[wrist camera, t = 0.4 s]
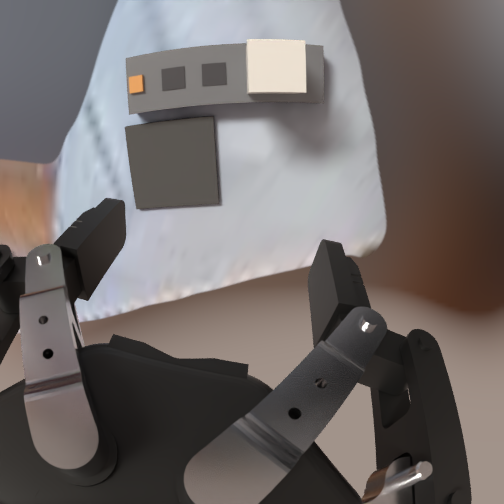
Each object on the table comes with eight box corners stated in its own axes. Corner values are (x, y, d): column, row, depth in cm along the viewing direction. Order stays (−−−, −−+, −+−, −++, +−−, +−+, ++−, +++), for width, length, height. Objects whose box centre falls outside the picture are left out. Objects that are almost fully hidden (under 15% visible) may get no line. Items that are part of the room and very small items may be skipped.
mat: (126, 126, 33) (124, 127, 32) (213, 116, 33) (213, 116, 32) (137, 207, 38) (136, 209, 37) (218, 201, 38) (218, 203, 38)
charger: (245, 54, 29) (247, 39, 21) (289, 54, 29) (305, 40, 21) (247, 94, 31) (248, 92, 23) (290, 93, 31) (306, 92, 23)
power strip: (133, 60, 28) (124, 58, 26) (317, 49, 29) (323, 45, 26) (136, 113, 32) (128, 114, 29) (318, 102, 32) (324, 103, 30)
